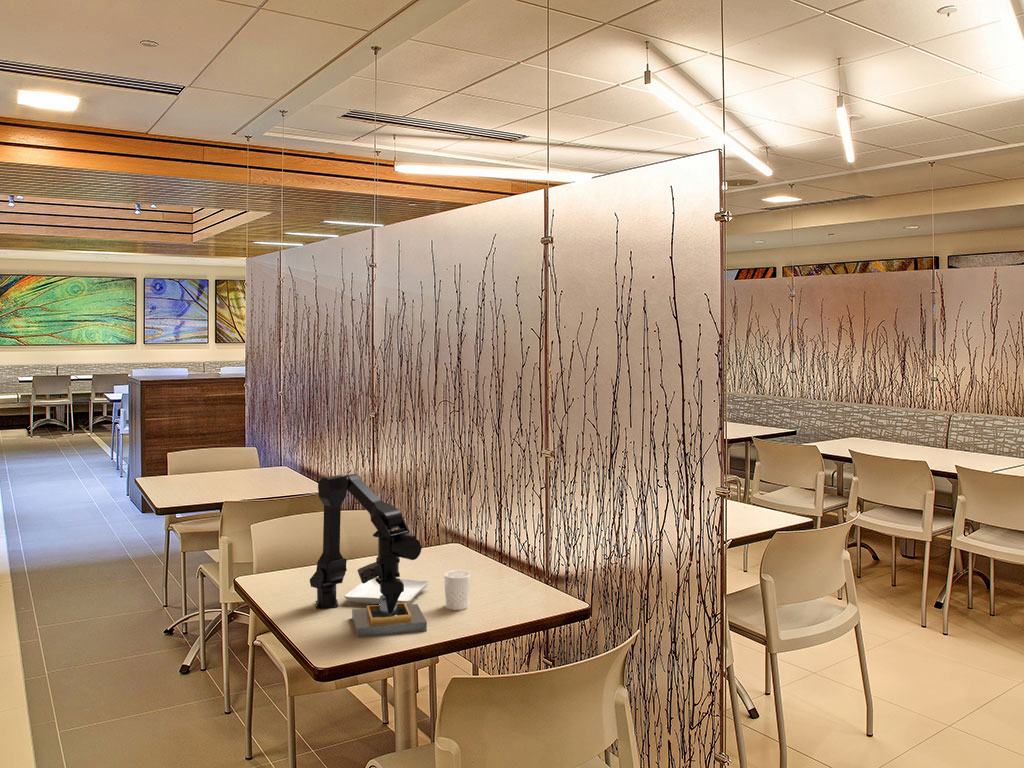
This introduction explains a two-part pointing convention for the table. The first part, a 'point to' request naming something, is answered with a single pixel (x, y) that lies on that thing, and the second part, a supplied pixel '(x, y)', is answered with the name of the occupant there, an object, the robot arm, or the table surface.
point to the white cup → (457, 589)
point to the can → (384, 608)
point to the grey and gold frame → (388, 621)
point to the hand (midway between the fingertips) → (388, 608)
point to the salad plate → (372, 594)
